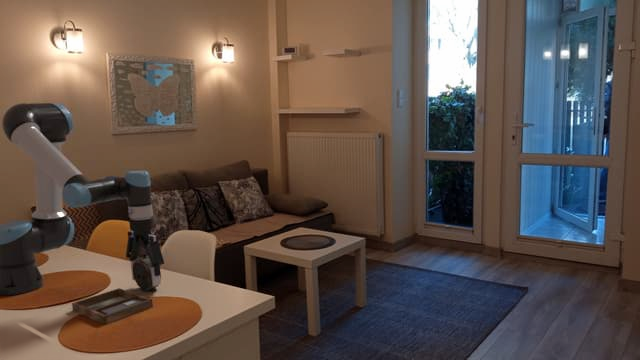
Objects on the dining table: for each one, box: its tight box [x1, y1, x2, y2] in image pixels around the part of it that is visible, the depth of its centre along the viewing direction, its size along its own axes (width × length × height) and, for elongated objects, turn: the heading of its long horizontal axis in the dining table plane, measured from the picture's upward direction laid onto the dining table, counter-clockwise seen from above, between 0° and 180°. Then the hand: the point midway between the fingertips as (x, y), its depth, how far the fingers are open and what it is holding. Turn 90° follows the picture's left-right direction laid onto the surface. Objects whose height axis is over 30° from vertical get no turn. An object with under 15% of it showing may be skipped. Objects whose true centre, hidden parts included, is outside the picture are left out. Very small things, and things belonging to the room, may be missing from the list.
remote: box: [101, 299, 141, 315], centre depth 154 cm, size 4×11×2 cm, turn 142°
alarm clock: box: [133, 246, 162, 292], centre depth 173 cm, size 11×5×16 cm, turn 49°
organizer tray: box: [71, 287, 154, 325], centre depth 157 cm, size 18×16×3 cm
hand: (146, 281), depth 173 cm, fingers closed on alarm clock, 11 cm apart
